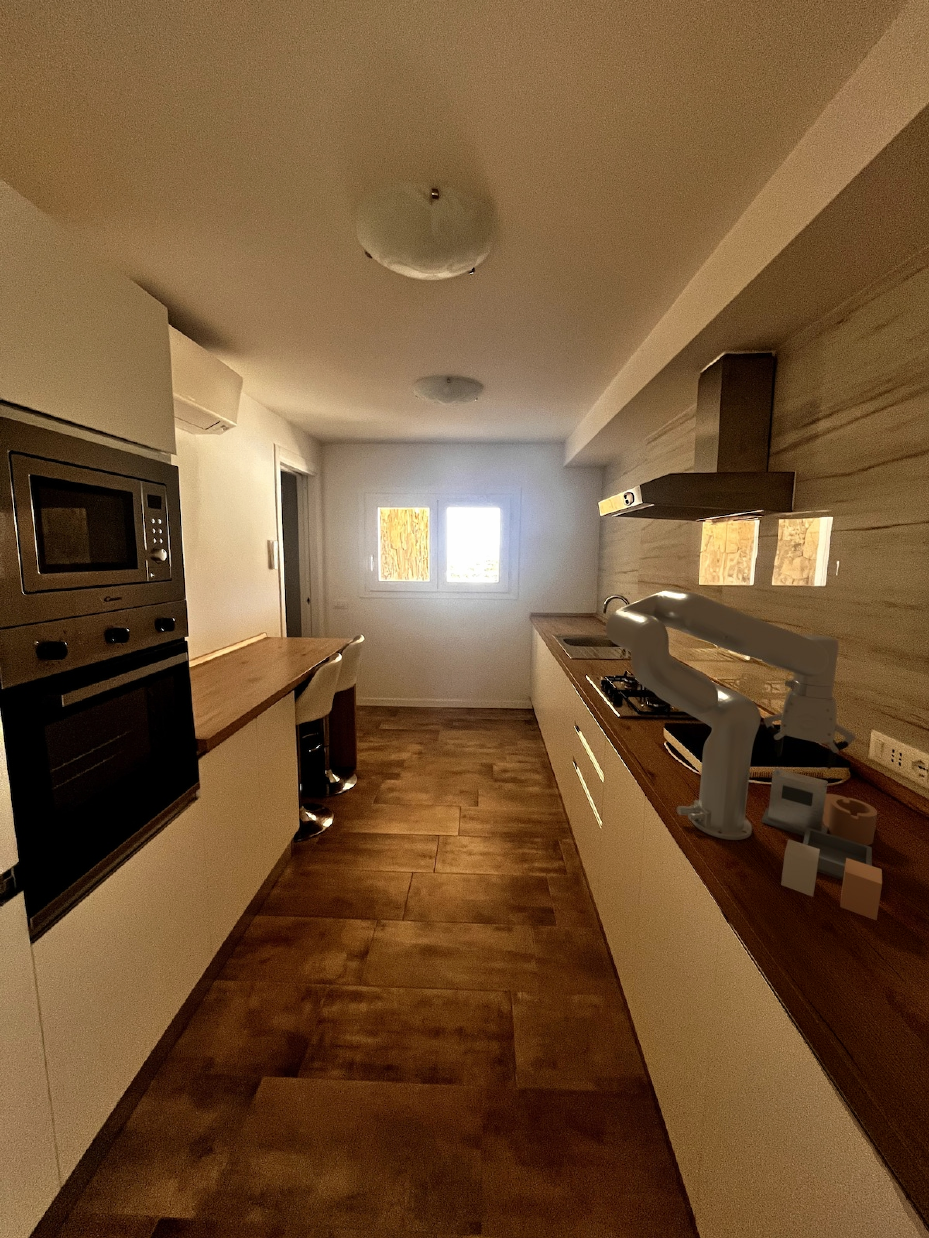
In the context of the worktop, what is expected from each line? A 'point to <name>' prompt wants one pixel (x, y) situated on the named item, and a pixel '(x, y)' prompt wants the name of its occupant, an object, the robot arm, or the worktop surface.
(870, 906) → the terracotta block
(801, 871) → the cream block
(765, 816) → the mounted unit
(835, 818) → the bracket
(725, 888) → the worktop surface
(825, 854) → the tray
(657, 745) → the worktop surface
